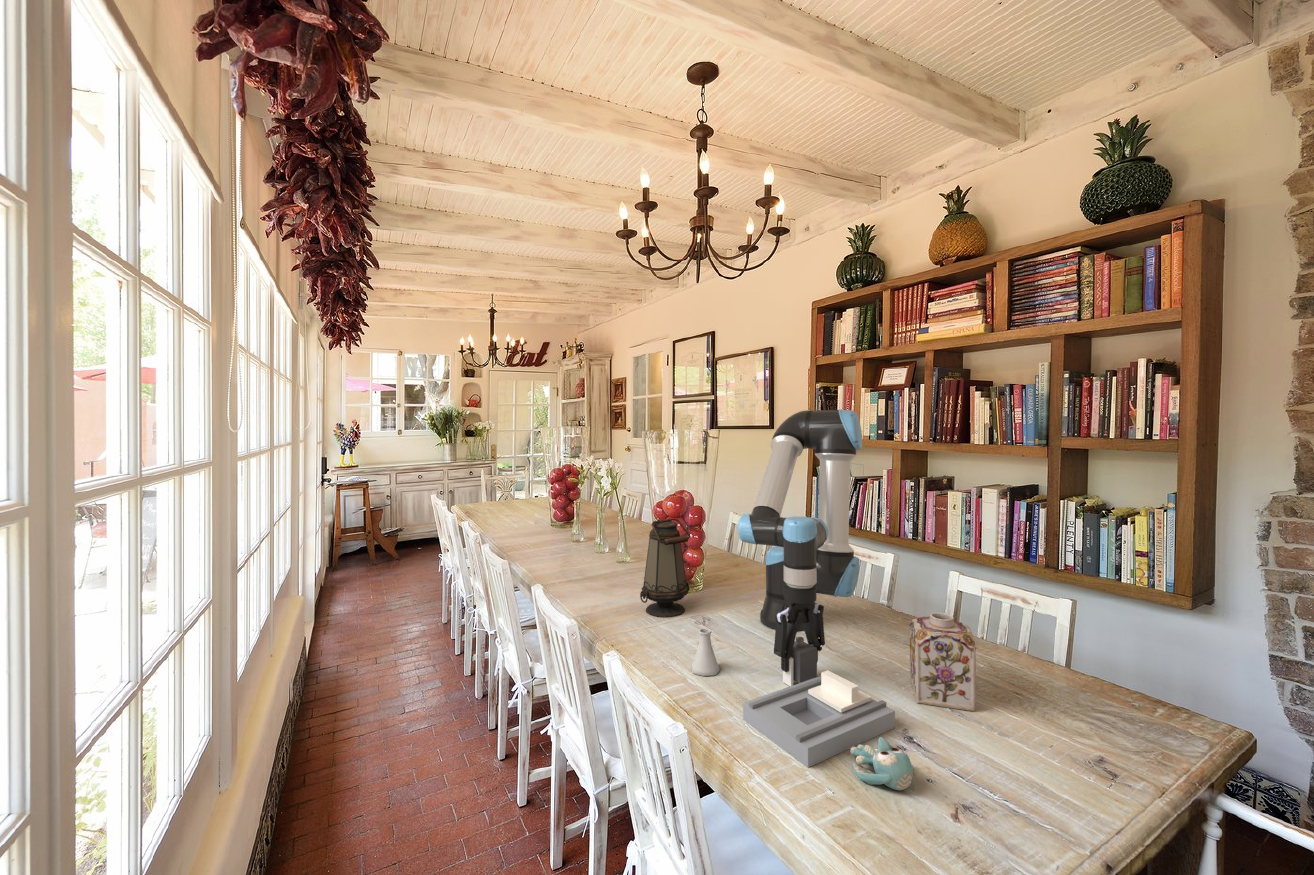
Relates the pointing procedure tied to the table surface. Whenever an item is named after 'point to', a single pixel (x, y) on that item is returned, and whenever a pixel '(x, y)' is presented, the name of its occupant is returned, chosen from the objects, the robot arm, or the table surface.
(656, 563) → the lantern
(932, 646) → the decorative jar
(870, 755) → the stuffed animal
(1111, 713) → the table surface
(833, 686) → the white finned plate
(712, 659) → the flask
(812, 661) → the plug
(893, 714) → the grey railed block
